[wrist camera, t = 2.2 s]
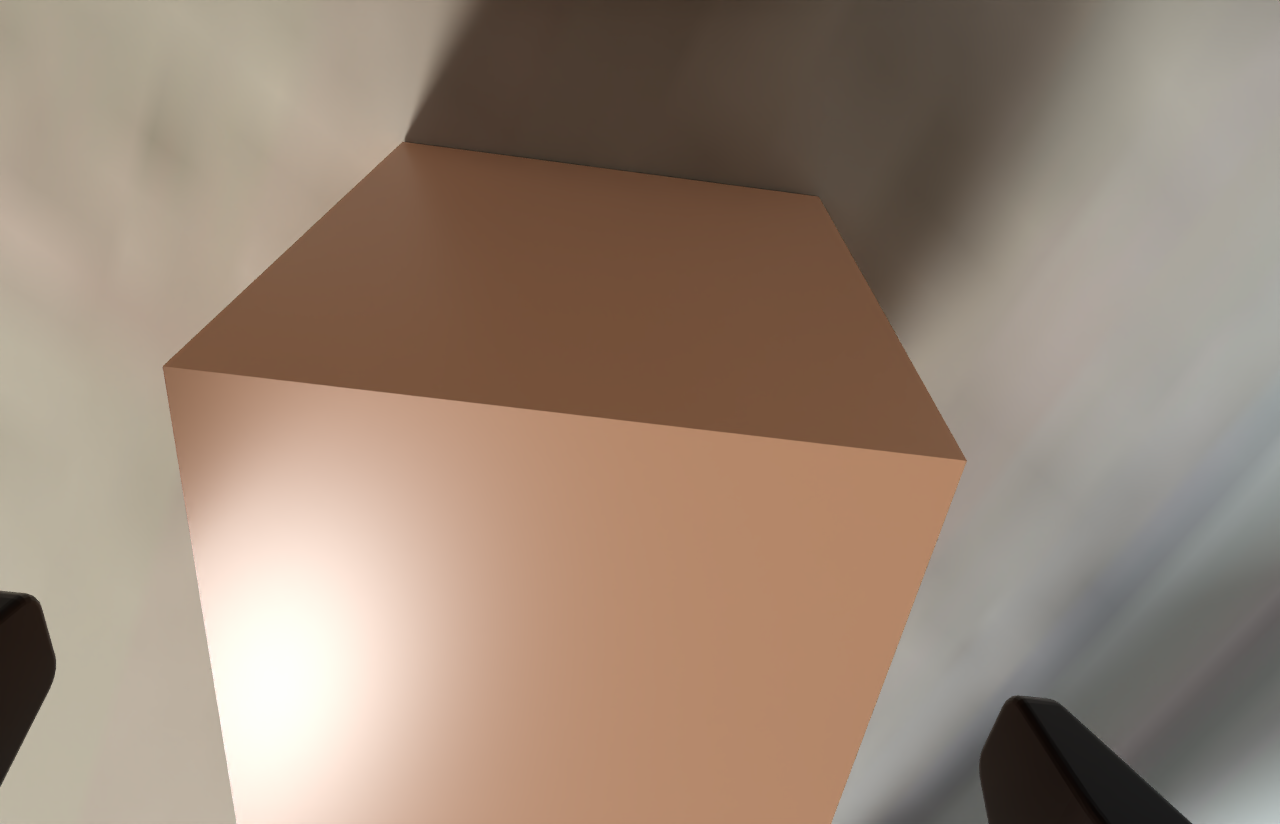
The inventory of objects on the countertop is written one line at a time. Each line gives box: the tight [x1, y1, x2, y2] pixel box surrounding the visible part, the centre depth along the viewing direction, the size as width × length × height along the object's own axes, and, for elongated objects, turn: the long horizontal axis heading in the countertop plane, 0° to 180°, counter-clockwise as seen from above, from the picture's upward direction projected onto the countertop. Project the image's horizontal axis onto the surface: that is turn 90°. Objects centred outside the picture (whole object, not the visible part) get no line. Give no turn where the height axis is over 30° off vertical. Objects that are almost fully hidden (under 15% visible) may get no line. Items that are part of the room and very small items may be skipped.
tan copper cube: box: [163, 142, 967, 824], centre depth 11 cm, size 6×6×7 cm
